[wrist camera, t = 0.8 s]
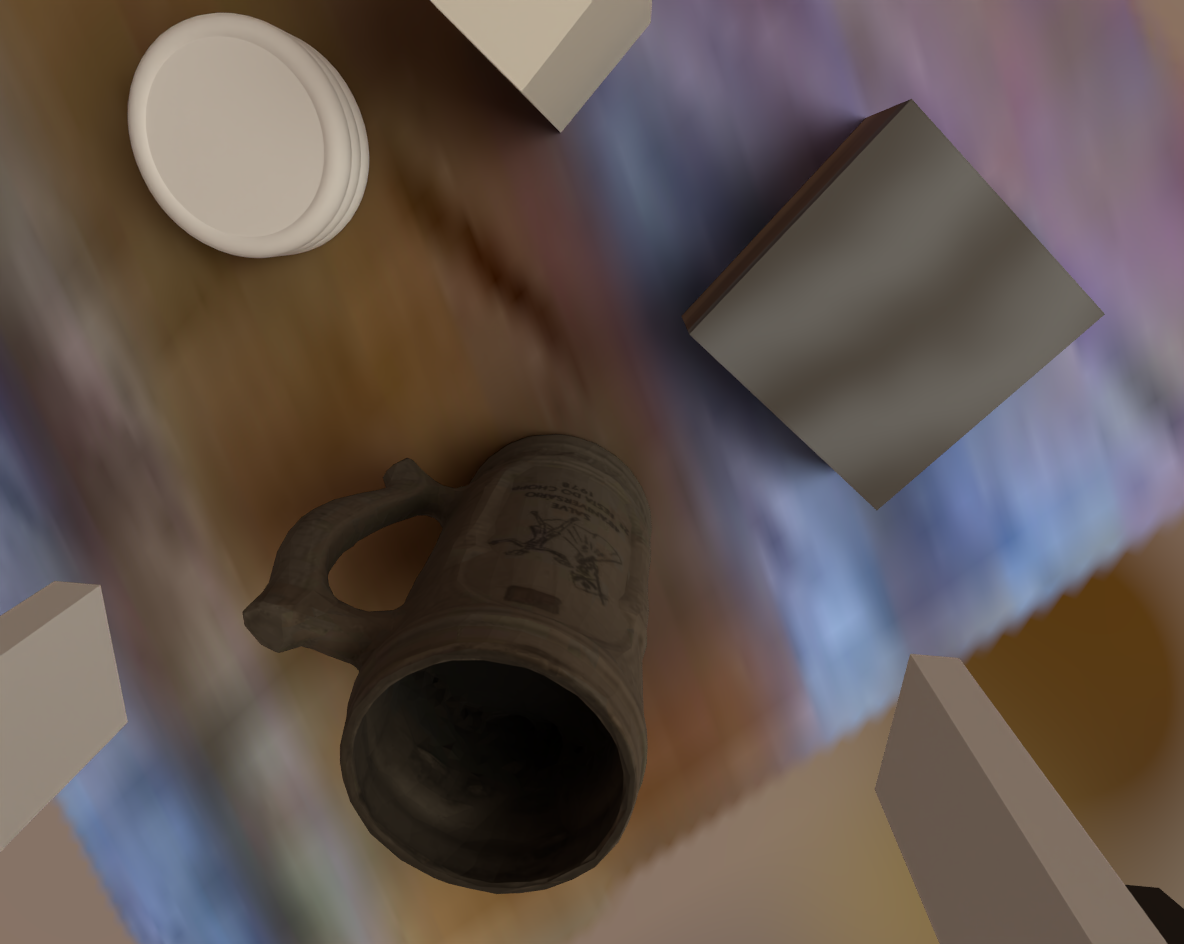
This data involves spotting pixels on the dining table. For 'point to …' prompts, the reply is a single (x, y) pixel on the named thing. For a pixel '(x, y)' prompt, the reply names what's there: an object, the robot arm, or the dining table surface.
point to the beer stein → (488, 662)
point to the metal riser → (889, 305)
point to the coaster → (247, 136)
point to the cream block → (551, 44)
